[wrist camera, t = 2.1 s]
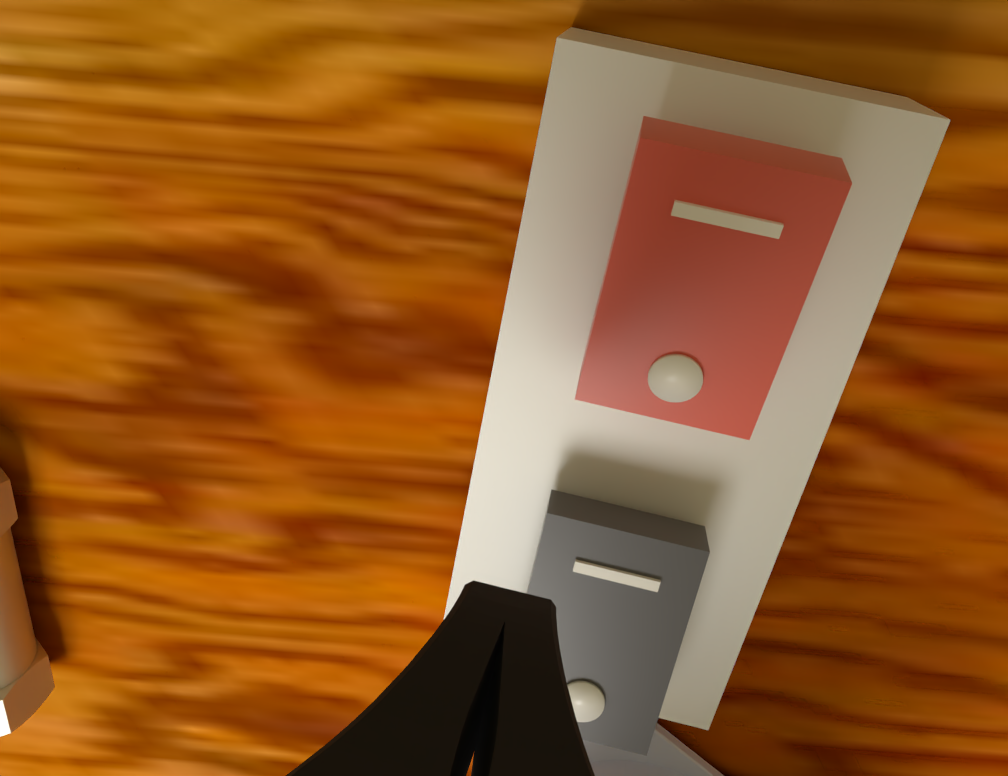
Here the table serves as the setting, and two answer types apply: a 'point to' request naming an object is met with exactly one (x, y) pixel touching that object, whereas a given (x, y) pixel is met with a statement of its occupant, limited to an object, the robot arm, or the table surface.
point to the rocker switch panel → (572, 302)
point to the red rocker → (708, 274)
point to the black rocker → (617, 609)
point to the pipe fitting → (17, 632)
